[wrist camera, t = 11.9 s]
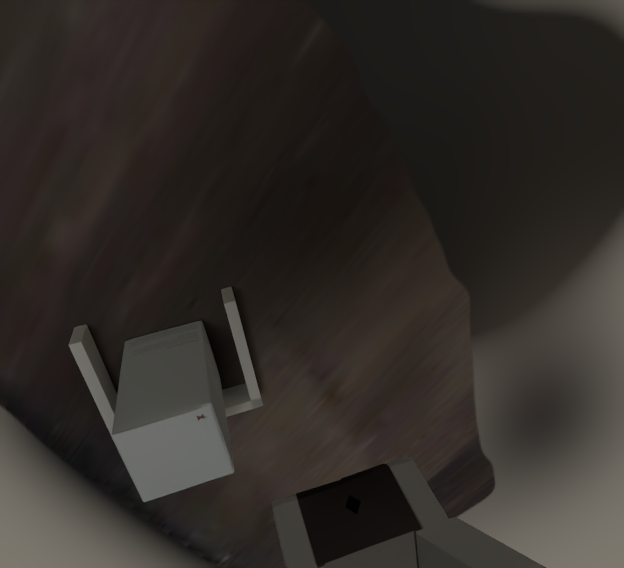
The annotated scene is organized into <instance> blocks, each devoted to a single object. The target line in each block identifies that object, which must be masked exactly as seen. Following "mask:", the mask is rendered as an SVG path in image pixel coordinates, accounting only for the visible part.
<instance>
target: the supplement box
mask: <svg viewBox="0 0 624 568" xmlns="http://www.w3.org/2000/svg"><path fill="white" fill-rule="evenodd" d="M111 436H112V439H113V441H114V443H115V445H116V447H117V449H118V451H119V453H120V455H121V457H122V460H123V462H124V464H125V466H126V468H127V470H128V472H129V474H130V476H131V478H132V480H133V482H134V484H135V486H136V488H137V490H138V492H139V494H140V496H141V498H142V500H143V502H146V501H149V500H153V499H156V498H159V497H162V496H165V495H168V494H171V493H174V492H177V491H180V490H183V489H186V488H189V487H192V486H195V485H198V484H201V483H204V482H207V481H210V480H213V479H216V478H219V477H223V476H226V475H229V474H232V473H234V463H233V455H232V448H231V442H230V436H229V431H228V425H227V418H226V412H225V406H224V400H223V394H222V387H221V380H220V376H219V372H218V369H217V365H216V362H215V359H214V355H213V352H212V349H211V346H210V343H209V340H208V337H207V334H206V331H205V328H204V325H203V322H202V321H201V320H200V321H196V322H192V323H188V324H185V325H181V326H178V327H173V328H170V329H166V330H162V331H159V332H155V333H151V334H148V335H144V336H141V337H137V338H133V339H130V340H127V341H125V344H124V351H123V357H122V365H121V372H120V379H119V386H118V394H117V401H116V408H115V415H114V422H113V429H112V435H111Z"/></svg>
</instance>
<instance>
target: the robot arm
mask: <svg viewBox="0 0 624 568" xmlns="http://www.w3.org/2000/svg"><path fill="white" fill-rule="evenodd" d="M296 496H297V497H296ZM272 510H273V514H274V518H275V523H276V527H277V531H278V536H279V540H280V544H281V549H282V553H283V557H284V562H285V566H286V568H546V567H544V566H542V565H540V564H539V563H537V562H535V561H533V560H531V559H530V558H528V557H526V556H524V555H523V554H521V553H519V552H517V551H515V550H514V549H512V548H510V547H508V546H507V545H505V544H503V543H501V542H499V541H498V540H496V539H494V538H492V537H490V536H489V535H487V534H485V533H483V532H481V531H480V530H478V529H476V528H474V527H473V526H471V525H469V524H467V523H465V522H464V521H462V520H460V519H458V518H457V517H454V518H451V519H448V517H447V515H446V514H445V512H444V510H443V509H442V507H441V506H440V504H439V502H438V501H437V499H436V497H435V496H434V494H433V493H432V491H431V489H430V488H429V486H428V484H427V483H426V481H425V479H424V478H423V476H422V475H421V473H420V471H419V470H418V468H417V466H416V465H415V463H414V462H413V460H412V459H411V458H410V457H409V456H406V457H403V458H400V459H397V460H394V461H391V462H388V463H386V464H381V465H378V466H375V467H372V468H370V469H367V470H364V471H361V472H358V473H356V474H353V475H350V476H347V477H344V478H342V479H341V480H338V481H335V482H332V483H329V484H325V485H322V486H319V487H316V488H312V489H309V490H306V491H303V492H300V493H296V495H295V494H294V495H291V496H288V497H285V498H281V499H278V500H275V501H272Z"/></svg>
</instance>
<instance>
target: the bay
mask: <svg viewBox="0 0 624 568" xmlns="http://www.w3.org/2000/svg"><path fill="white" fill-rule="evenodd" d="M221 293H222V297H223V302H224V306H225V309H226V313H227V316H228V320H229V324H230V327H231V331H232V334H233V338H234V342H235V345H236V349H237V352H238V356H239V360H240V363H241V367H242V370H243V374H244V378H245V381H246V383H244V384H240V385H237V386H234V387H230V388H227V389H223V390H222V394H223V400H224V406H225V412H226V417H228V416H231V415H234V414H237V413H241V412H244V411H247V410H251V409H254V408H257V407H260V406H263V404H262V400H261V396H260V392H259V388H258V385H257V381H256V377H255V373H254V370H253V366H252V362H251V358H250V354H249V351H248V347H247V343H246V339H245V336H244V332H243V328H242V324H241V320H240V317H239V313H238V309H237V305H236V302H235V298H234V294H233V291H232V287H227V288H224V289H221ZM69 347H70V349H71V351H72V353H73V356H74V358H75V360H76V362H77V364H78V366H79V368H80V370H81V373H82V375H83V377H84V379H85V381H86V383H87V385H88V387H89V390H90V392H91V394H92V396H93V398H94V400H95V402H96V404H97V406H98V409H99V411H100V413H101V415H102V417H103V419H104V421H105V423H106V426H107V428H108V430H109V432H110V434H111V435H112V429H113V422H114V415H115V408H116V401H117V392H116V390H115V388H114V386H113V383H112V381H111V379H110V377H109V374H108V372H107V370H106V367H105V365H104V363H103V361H102V358H101V356H100V354H99V352H98V349H97V347H96V345H95V342H94V340H93V338H92V336H91V333H90V331H89V329H88V327H87V324H85V325H81V326H77V327H75V328H74V331H73V334H72V337H71V340H70V342H69Z"/></svg>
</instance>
